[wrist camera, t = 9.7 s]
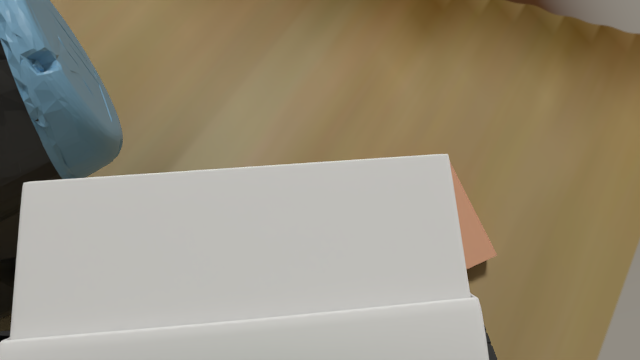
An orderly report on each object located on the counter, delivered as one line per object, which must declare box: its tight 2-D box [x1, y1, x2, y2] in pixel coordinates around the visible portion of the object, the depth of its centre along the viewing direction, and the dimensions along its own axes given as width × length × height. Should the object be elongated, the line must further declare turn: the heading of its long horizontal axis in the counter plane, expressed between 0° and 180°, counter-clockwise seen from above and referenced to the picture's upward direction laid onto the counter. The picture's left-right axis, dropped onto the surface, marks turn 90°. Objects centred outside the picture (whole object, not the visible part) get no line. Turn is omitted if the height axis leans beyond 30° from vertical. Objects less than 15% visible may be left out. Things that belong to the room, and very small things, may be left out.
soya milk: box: [0, 154, 489, 360], centre depth 13 cm, size 9×9×20 cm
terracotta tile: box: [450, 163, 497, 269], centre depth 36 cm, size 11×11×2 cm
